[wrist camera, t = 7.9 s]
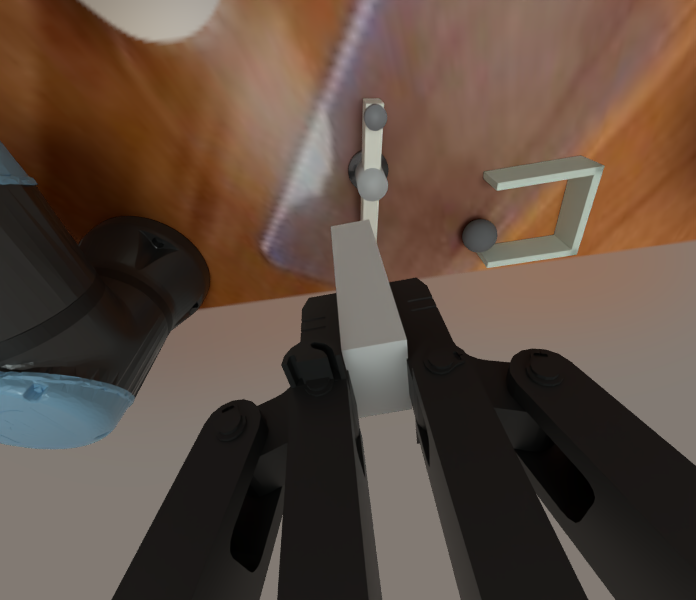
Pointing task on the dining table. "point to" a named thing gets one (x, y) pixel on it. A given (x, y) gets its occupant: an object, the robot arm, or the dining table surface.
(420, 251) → the dining table surface
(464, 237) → the ball
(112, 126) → the dining table surface
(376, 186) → the teal-tipped knobbed bar
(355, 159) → the pivot base
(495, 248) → the box
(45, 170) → the dining table surface
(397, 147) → the dining table surface
